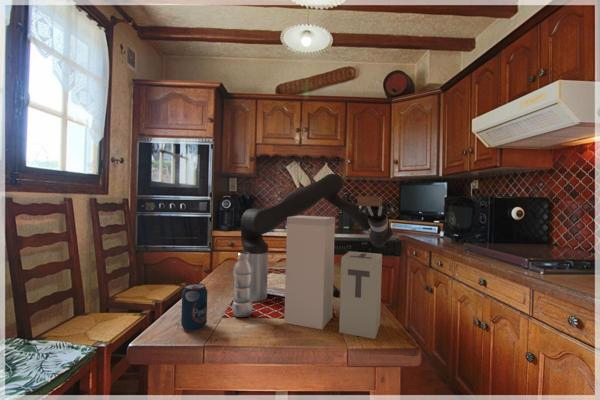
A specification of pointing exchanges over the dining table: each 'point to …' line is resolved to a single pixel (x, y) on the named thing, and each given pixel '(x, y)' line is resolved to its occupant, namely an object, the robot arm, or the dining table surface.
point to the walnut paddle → (369, 201)
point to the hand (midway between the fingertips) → (373, 198)
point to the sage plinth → (360, 294)
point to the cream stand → (309, 271)
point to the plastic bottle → (242, 286)
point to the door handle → (335, 291)
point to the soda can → (194, 307)
